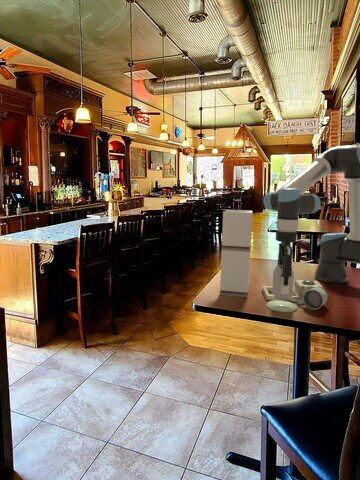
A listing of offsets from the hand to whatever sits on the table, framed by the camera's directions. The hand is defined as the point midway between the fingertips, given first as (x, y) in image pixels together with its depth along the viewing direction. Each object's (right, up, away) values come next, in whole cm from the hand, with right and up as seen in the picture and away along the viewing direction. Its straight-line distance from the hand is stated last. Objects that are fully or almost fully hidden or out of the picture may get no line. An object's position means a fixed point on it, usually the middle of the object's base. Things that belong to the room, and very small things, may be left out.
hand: (282, 290), depth 139 cm
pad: (0, -7, +1) cm, 7 cm away
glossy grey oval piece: (+14, -3, +13) cm, 20 cm away
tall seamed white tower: (-15, -4, +18) cm, 24 cm away
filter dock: (+8, -5, +14) cm, 17 cm away
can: (0, -3, 0) cm, 3 cm away
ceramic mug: (+12, -7, +3) cm, 14 cm away
